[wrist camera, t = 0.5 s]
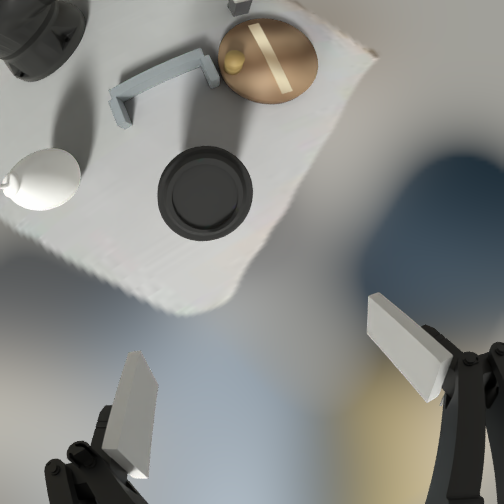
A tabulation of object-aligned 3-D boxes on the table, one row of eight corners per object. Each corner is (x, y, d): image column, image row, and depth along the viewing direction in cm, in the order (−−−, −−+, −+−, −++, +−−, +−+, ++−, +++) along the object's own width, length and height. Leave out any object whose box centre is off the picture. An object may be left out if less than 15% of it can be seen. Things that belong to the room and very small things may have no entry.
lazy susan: (203, 38, 30) (203, 21, 25) (290, 17, 30) (300, 1, 25) (240, 117, 34) (245, 109, 29) (327, 90, 35) (343, 81, 30)
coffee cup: (161, 180, 36) (132, 187, 22) (213, 140, 35) (217, 123, 21) (199, 230, 39) (194, 267, 25) (251, 192, 38) (277, 207, 24)
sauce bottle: (84, 142, 32) (10, 131, 15) (98, 190, 35) (27, 210, 18) (46, 163, 32) (-33, 169, 15) (58, 209, 34) (-17, 239, 17)
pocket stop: (112, 98, 31) (104, 92, 28) (204, 55, 31) (204, 46, 28) (125, 129, 33) (117, 125, 29) (219, 85, 33) (220, 78, 30)
